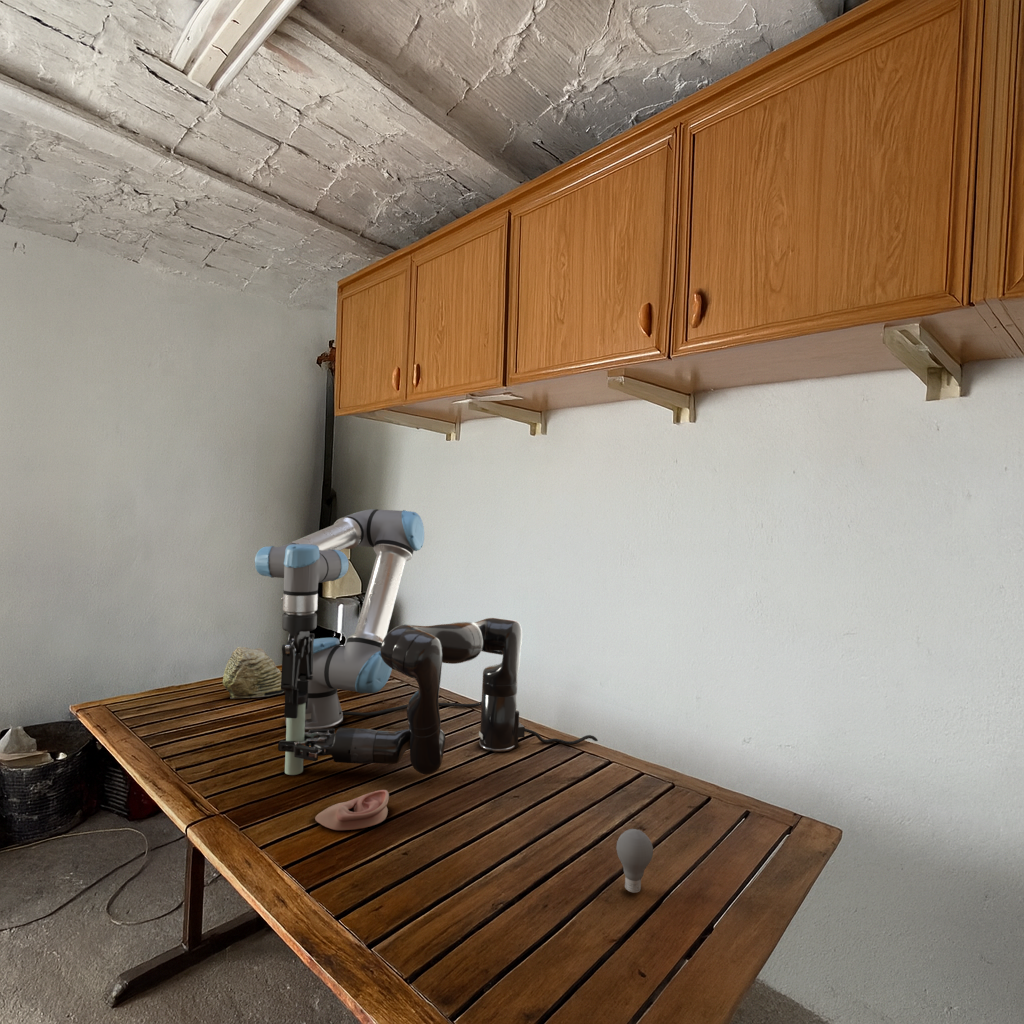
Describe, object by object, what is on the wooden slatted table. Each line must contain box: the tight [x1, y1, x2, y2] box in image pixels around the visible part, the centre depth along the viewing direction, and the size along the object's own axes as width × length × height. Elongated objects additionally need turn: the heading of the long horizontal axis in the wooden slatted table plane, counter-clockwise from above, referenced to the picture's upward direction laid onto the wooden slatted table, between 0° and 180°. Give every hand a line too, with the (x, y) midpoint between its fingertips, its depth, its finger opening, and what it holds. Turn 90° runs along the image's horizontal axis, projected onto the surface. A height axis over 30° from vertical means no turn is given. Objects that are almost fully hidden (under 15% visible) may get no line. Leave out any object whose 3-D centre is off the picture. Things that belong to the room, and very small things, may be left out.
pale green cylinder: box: [284, 702, 306, 776], centre depth 145 cm, size 4×4×17 cm
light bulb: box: [615, 828, 654, 894], centre depth 106 cm, size 6×6×10 cm
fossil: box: [222, 646, 285, 699], centre depth 198 cm, size 9×18×15 cm, turn 132°
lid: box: [298, 692, 307, 705], centre depth 145 cm, size 4×4×2 cm
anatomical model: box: [314, 789, 390, 831], centre depth 126 cm, size 13×4×12 cm
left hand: (296, 712), depth 145 cm, fingers open, 5 cm apart
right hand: (283, 741), depth 145 cm, fingers closed on pale green cylinder, 4 cm apart
